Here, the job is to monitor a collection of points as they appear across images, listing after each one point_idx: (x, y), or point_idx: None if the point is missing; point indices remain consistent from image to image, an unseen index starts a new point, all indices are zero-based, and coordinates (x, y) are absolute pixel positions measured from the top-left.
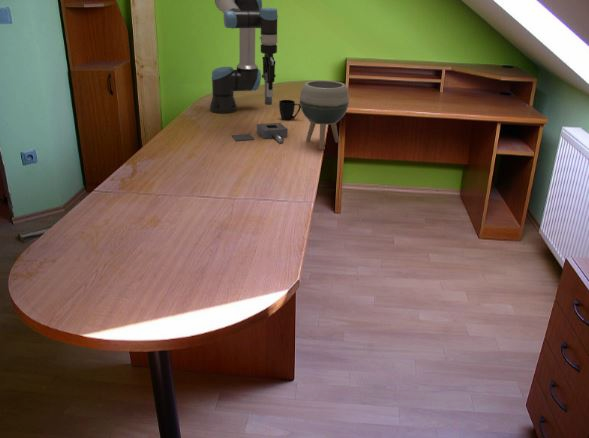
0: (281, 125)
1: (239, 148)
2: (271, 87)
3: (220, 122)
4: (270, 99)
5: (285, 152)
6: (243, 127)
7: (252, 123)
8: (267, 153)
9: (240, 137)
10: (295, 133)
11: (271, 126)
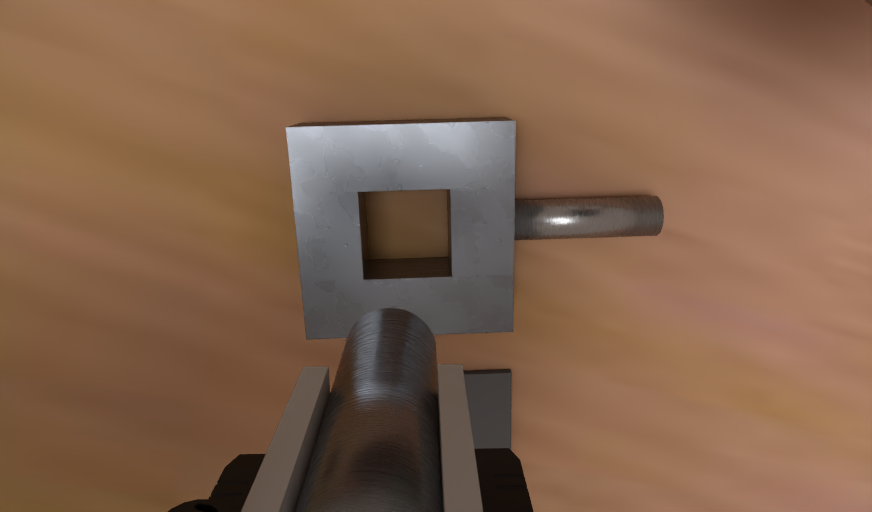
0: (387, 140)
1: (657, 489)
2: (523, 489)
3: (21, 501)
4: (435, 367)
5: (846, 241)
6: (175, 376)
7: (58, 287)
8: (815, 357)
9: None
10: (414, 9)
11: (361, 223)
